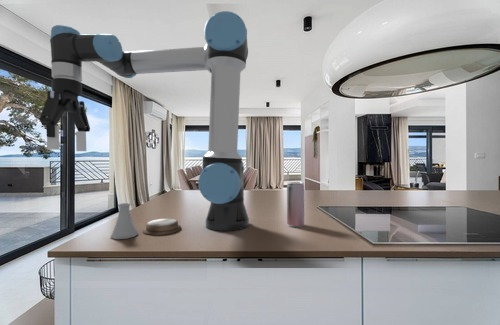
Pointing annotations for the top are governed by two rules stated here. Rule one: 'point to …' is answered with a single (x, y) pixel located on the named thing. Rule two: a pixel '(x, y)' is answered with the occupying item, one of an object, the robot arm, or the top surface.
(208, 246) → the top surface
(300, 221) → the beverage can
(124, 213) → the flask
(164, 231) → the pedestal
